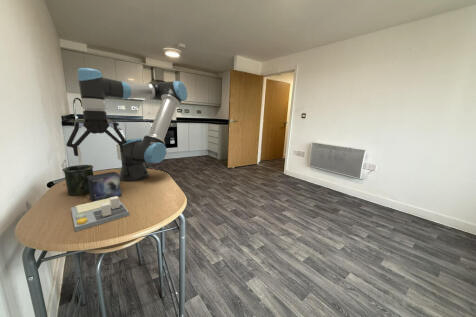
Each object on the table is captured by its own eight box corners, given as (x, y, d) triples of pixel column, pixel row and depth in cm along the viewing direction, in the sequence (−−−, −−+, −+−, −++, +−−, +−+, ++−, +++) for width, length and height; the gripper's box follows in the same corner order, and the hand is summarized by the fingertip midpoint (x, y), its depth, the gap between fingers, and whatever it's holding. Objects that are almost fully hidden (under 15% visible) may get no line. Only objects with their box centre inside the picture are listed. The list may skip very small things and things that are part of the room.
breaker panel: (117, 200, 80) (116, 194, 80) (129, 215, 68) (128, 209, 68) (71, 211, 70) (70, 205, 69) (75, 231, 58) (74, 224, 57)
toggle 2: (118, 205, 71) (117, 196, 71) (119, 207, 70) (118, 197, 69) (110, 207, 70) (109, 197, 69) (112, 209, 68) (110, 199, 67)
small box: (93, 203, 77) (90, 179, 74) (89, 199, 81) (86, 176, 79) (122, 196, 85) (119, 174, 82) (117, 192, 89) (114, 171, 86)
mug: (94, 186, 96) (91, 163, 93) (99, 194, 86) (96, 169, 83) (66, 191, 88) (62, 167, 86) (68, 201, 78) (63, 174, 76)
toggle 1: (109, 211, 66) (108, 202, 65) (111, 214, 65) (110, 204, 64) (101, 214, 65) (100, 204, 64) (103, 216, 63) (101, 206, 62)
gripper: (126, 111, 86) (131, 156, 90) (51, 108, 69) (61, 163, 73) (131, 111, 81) (135, 159, 85) (51, 108, 64) (61, 167, 68)
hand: (101, 161), depth 79 cm, fingers open, 13 cm apart
